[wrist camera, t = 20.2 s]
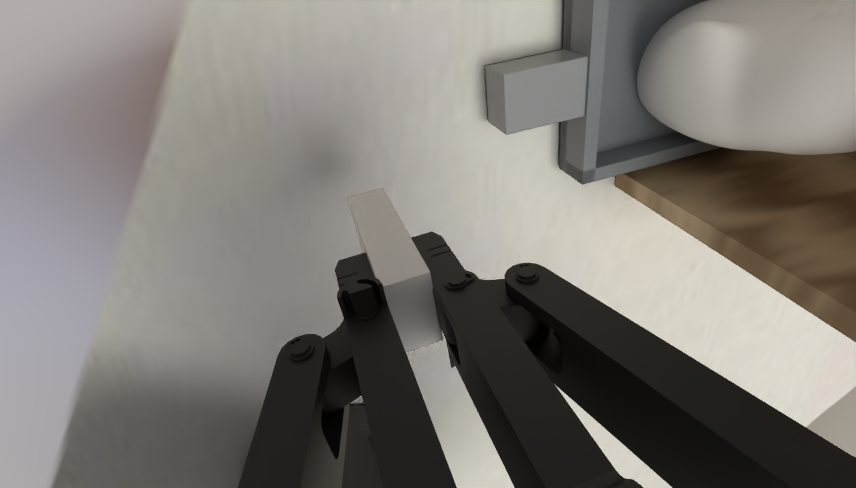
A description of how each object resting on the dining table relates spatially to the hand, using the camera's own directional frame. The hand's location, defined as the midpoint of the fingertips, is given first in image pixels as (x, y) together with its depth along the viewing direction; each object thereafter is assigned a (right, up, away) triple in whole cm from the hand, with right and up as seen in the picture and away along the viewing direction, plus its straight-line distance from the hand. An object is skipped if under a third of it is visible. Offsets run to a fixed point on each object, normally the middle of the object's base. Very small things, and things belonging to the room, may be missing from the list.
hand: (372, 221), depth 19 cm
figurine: (+17, +10, +7) cm, 21 cm away
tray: (+14, +9, +7) cm, 18 cm away
